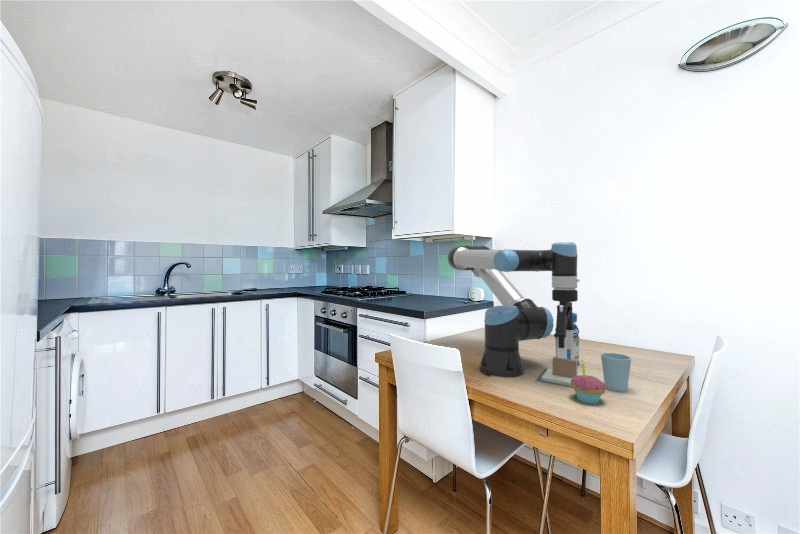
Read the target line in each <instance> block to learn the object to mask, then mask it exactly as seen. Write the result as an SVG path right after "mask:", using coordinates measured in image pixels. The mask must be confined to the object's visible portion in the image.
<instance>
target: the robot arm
mask: <svg viewBox="0 0 800 534" xmlns="http://www.w3.org/2000/svg"><path fill="white" fill-rule="evenodd" d="M577 247H578V246H577V244H576V243H575V242H573V241H567V242H566V241H564V242H554V243H552V244H551V248H550V249H539V250H536V249H533V250H532V249H531V250H530V249H510V248H509V249H507V248H506V249H505V248H504V249H494V248H492V247H490V246H487V245H456V246H455V247H452V248H451V249H450V250H449V252H448V253H447V262H448V264H449V266H450V267H451V268H452V269H454V270H457V271H471V272H472V273H473V274H474V276H475V277H477V278H481V280H482V281H483V283H484V284H486V286H487V287H488V288H489V289H490V291H491V293H492V294H493V295H494V296H495V297H496V299H497V300H498V301H499V303H500V304H501V305H500V304H499V305H495V306H494V305H493V306H491V307H488V308H487V309H486V310H485V312H484V351H483V354H482V358H481V359H480V364H479V370H480V372H481V373H482V374H484V375H487V376H490V377H491V376H494V377H499V378H518V377H521V376H523V375H524V374H525V366H524V363H523V360H522V357H521V355H520V349H519V348H520V342H521V341H522V342H523V341H531V340H540V339H545V338H547V337H549V336H551V334H552V332H553V330H554V321H555V320H554V317H553V314H552V312H551V311H550V310H549V309H548V308H547V307H544V306H537V304H536V303H535V302H534V301H533V300H532V299H531V298H527V297H524V296H523V294H521V292H520V290H518V289H517V288H516V286H515V285H514V284H513V283H512V282H511V281H510V279H508V278H507V276H506V275H505V274H504V273H505V272H506V273H510V272H551V287H552V288H553V289H552V290H551V295H552V296H551V299H552V301H555V302H559V304H557V305H556V323H555V328H556V331H555V333H554V334H553V337H554V338H555V337H557V358H563V359H567V349H570V350H573V331H572V330H575V327H574V324H573V313H574V312H573V303H574V302H578V297H579V296H578V293H579V291H578V290H577V288H578V283H580V278H578V248H577ZM503 272H504V273H503Z"/></svg>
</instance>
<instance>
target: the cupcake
mask: <svg viewBox="0 0 800 534" xmlns="http://www.w3.org/2000/svg"><path fill="white" fill-rule="evenodd" d="M580 363H581V371H582V372H581V373H583V375H579V376H576V377H573V379H572V380H571V387H572V388H571V389H573V390H574V392H575V394H576V397H577V400H578V401H580V402H583V403H585V404H591V405H593V404H594V405H595V404H598V403H599V401H600V399H601V397H602V396H603V395H604V394H605V393H606V389H607V388H606V387H605V383H604V381H601V380H600V379H599V378H597V377H595V376H593V375H585V374H586V366H585V362H584V361H583V359H581V362H580Z"/></svg>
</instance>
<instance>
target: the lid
mask: <svg viewBox="0 0 800 534" xmlns="http://www.w3.org/2000/svg"><path fill="white" fill-rule="evenodd" d="M547 369H548V370H547V371H546V372H545V373H544V375H543V376H542V377H541V380H542V381H548V382H553V383H558V384H563V385H569V386H571V380H572V379H573V377H576V376H579V375H583V372H578V367H577V360H574V359H563V358H557V357H556V356H553V357H552V368H551V367H548V368H547ZM585 375H588V373H585ZM588 376H589V375H588Z"/></svg>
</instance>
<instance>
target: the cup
mask: <svg viewBox="0 0 800 534" xmlns="http://www.w3.org/2000/svg"><path fill="white" fill-rule="evenodd" d="M600 357H601V359H600V360H601V366H602V374H603V380H604V381H603V383H604V384H605V388H606V389H608V390H610V391H614V392H618V393H619V392H623V393H624V392H627V391H628V386H629V380H630V379H629V378H630V370H631V363H632V357H631V356H628V355H627V354H624V353H623V354H622V353H617V352H601V354H600Z"/></svg>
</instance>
